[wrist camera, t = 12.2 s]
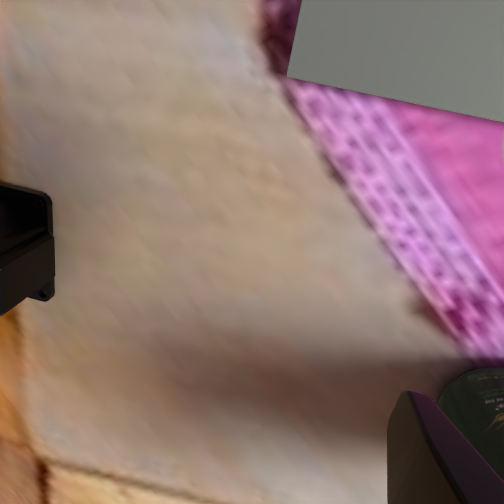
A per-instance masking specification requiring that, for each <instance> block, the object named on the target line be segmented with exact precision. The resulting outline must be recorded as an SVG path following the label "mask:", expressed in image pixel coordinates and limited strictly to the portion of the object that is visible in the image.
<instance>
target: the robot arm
mask: <svg viewBox="0 0 504 504" xmlns="http://www.w3.org/2000/svg"><path fill="white" fill-rule="evenodd" d="M39 200H41V202H42V203H43V206H42V205H41V204H40V203H39ZM54 277H55V249H54V237H53V216H52V201H51V199H50V197H49V196H48V195H47V194H45V193H43V192H39V191H35V190H31V189H27V188H23V187H19V186H14V185H10V184H6V183H2V182H0V316H1V315H3V314H5V313H6V312H8V311H9V310H10V309H12V308H13V307H15V306H16V305H17V304H19V303H20V302H21V301H23V300H24V299H25V298H27V297H28V298H32V299H36V300H39V301H44V302H46V301H49V300H50V299H51V298H52V297H53V296H54V294H55V287H54ZM43 291H44V292H45V293H46V294H45V293H44V292H43ZM387 500H388V504H504V481H503V480H502V479H501V478H500V477H499V476H498V475H497V473H496V472H495V471H494V470H493V469H492V468H491V467H490V465H489V464H488V463H487V462H486V461H485V460H484V459H483V457H482V456H481V455H480V454H479V453H478V452H477V451H476V449H475V448H474V447H473V446H472V445H471V444H470V443H469V442H468V440H467V439H466V438H465V437H464V436H463V435H462V434H461V432H460V431H459V430H458V429H457V428H456V427H455V426H454V424H453V423H452V422H451V421H450V420H449V419H448V418H447V416H446V415H445V414H444V413H443V412H442V411H441V410H440V408H439V407H438V406H437V405H436V404H435V403H434V402H433V400H432V399H431V398H430V397H429V396H428V395H427V394H425V393H422V392H418V391H415V390H411V389H405V390H403V391H402V392H401V394H400V396H399V398H398V401H397V403H396V405H395V407H394V409H393V411H392V414H391V416H390V418H389V421H388V427H387Z"/></svg>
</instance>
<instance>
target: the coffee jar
mask: <svg viewBox="0 0 504 504" xmlns="http://www.w3.org/2000/svg"><path fill="white" fill-rule="evenodd" d="M436 405H437V406H438V407H439V408H440V410H441V411H442V412H443V413H444V414H445V415H446V416H447V418H448V419H449V420H450V421H451V422H452V423H453V424H454V426H455V427H456V428H457V429H458V430H459V431H460V432H461V434H462V435H463V436H464V437H465V438H466V439H467V440H468V442H469V443H470V444H471V445H472V446H473V447H474V448H475V449H476V451H477V452H478V453H479V454H480V455H481V456H482V457H483V459H484V460H485V461H486V462H487V463H488V464H489V465H490V467H491V468H492V469H493V470H494V471H495V472H496V473H497V475H498V476H499V477H500V478H501V479H502V480H503V481H504V367H491V368H480V369H475V370H472V371H469V372H466V373H464V374H463V375H462V376H460V377H458V378H456V379H455V380H453V381H452V382H451V383H450V384H449V385H448V386H447V387H446V388H445V389H444V390H443V392H442V393H441V395H440V397H439V399H438V402H437V404H436Z"/></svg>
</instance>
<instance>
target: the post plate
mask: <svg viewBox="0 0 504 504" xmlns="http://www.w3.org/2000/svg"><path fill="white" fill-rule="evenodd" d="M286 77H290V78H295V79H299V80H304V81H309V82H314V83H318V84H323V85H328V86H333V87H338V88H342V89H347V90H352V91H357V92H361V93H366V94H371V95H376V96H380V97H385V98H390V99H395V100H399V101H404V102H409V103H414V104H419V105H423V106H428V107H433V108H438V109H442V110H447V111H452V112H457V113H461V114H466V115H471V116H476V117H481V118H485V119H490V120H495V121H500V122H504V0H302V3H301V8H300V13H299V18H298V22H297V27H296V32H295V37H294V42H293V47H292V52H291V57H290V61H289V66H288V71H287V76H286Z"/></svg>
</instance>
